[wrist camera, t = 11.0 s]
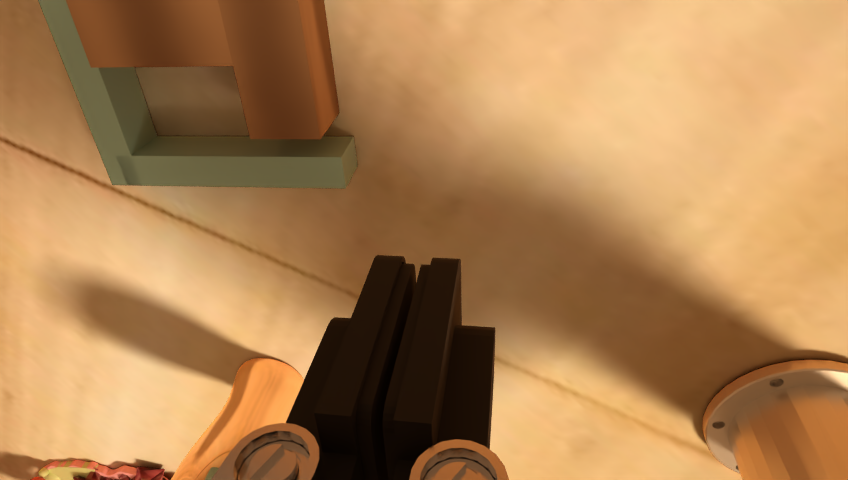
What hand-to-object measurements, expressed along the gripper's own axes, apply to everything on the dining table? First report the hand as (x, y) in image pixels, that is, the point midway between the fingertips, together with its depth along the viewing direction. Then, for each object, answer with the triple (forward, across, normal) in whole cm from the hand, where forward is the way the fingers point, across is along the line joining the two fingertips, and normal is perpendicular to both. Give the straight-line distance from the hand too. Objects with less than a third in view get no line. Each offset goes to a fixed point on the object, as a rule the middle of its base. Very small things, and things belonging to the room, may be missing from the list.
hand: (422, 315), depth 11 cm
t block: (+23, +15, -2) cm, 27 cm away
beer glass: (+23, +18, +28) cm, 40 cm away
